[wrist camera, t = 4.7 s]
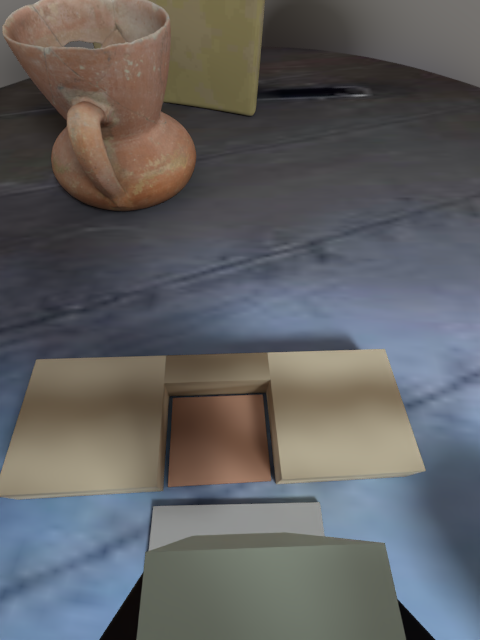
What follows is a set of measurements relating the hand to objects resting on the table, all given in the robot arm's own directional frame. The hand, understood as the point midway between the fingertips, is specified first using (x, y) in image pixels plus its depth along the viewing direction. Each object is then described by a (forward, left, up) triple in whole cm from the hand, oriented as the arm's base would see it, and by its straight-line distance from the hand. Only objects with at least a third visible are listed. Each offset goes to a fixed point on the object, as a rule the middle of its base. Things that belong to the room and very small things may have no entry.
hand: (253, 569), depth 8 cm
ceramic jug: (+30, +18, -13) cm, 37 cm away
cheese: (+52, +18, -13) cm, 57 cm away
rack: (+6, +2, -13) cm, 14 cm away
